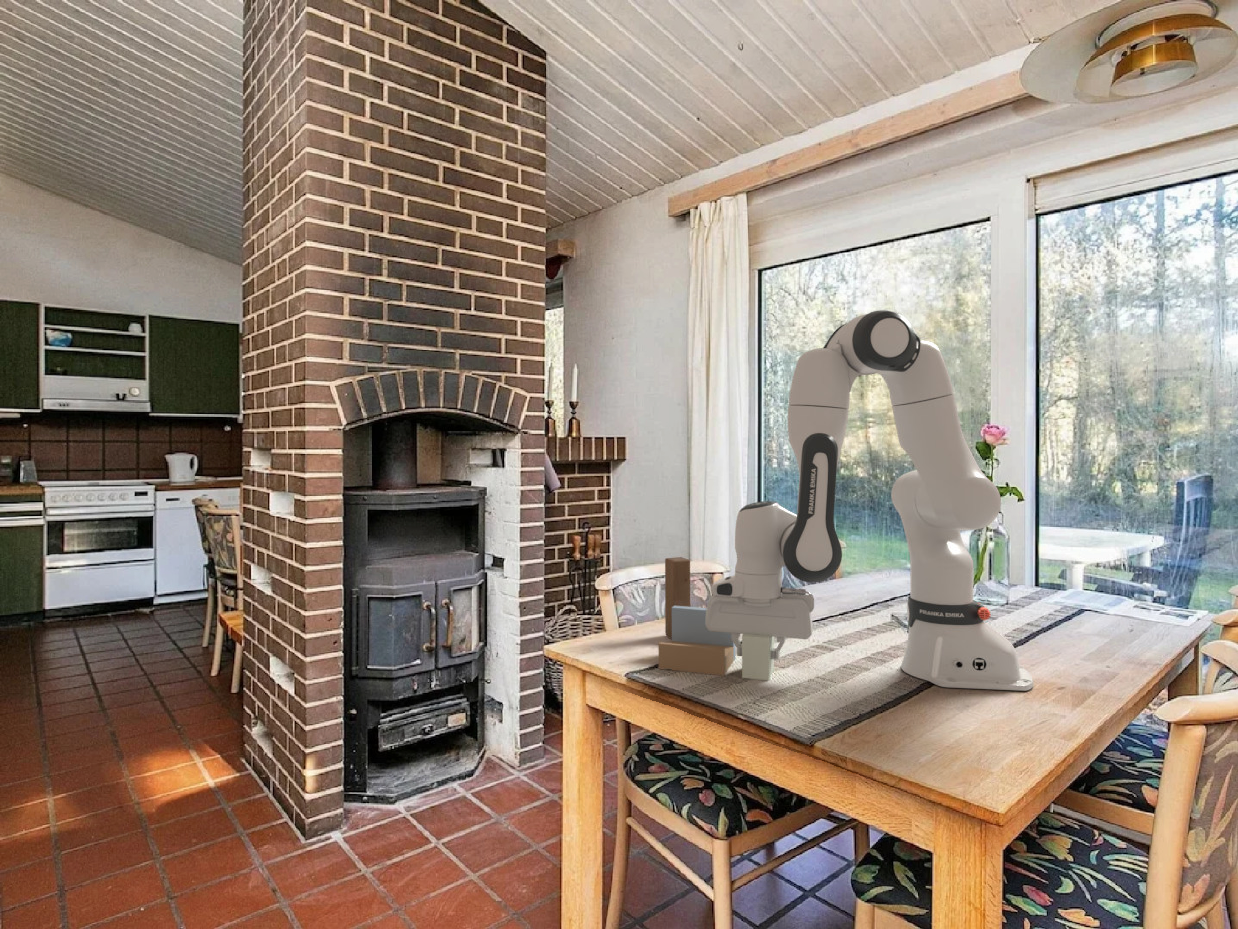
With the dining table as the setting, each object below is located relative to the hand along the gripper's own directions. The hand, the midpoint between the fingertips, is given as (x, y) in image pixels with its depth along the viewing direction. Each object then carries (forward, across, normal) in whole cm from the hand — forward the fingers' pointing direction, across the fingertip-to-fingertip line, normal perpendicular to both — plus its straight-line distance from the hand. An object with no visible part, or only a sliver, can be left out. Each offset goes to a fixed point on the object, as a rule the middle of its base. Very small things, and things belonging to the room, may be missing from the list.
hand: (758, 657), depth 139 cm
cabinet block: (+3, 0, 0) cm, 3 cm away
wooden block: (+3, +20, -18) cm, 27 cm away
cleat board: (+3, +13, -2) cm, 13 cm away
